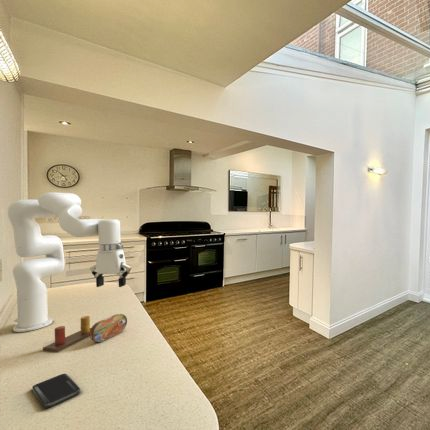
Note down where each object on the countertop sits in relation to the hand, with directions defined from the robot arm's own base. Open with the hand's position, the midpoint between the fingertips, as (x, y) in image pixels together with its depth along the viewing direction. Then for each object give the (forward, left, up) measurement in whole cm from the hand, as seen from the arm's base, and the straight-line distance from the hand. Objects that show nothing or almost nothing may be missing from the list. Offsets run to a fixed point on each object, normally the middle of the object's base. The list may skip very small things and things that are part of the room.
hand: (111, 286), depth 116 cm
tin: (-1, -1, -22) cm, 22 cm away
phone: (+15, -33, -22) cm, 43 cm away
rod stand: (-13, -6, -22) cm, 26 cm away
